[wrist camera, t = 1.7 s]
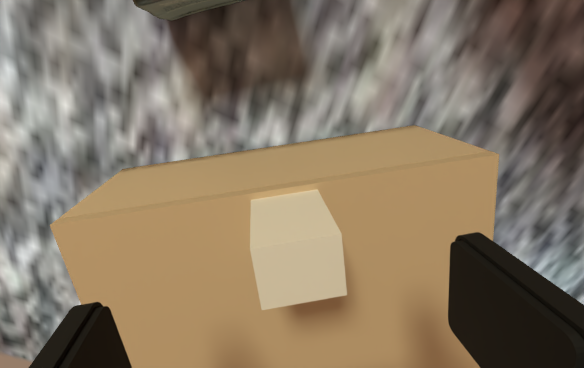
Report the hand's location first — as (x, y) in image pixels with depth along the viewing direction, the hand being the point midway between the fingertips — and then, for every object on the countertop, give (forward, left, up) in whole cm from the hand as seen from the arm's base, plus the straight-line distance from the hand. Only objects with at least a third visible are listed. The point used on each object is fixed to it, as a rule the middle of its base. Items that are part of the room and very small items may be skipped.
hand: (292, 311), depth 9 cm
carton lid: (0, +7, -7) cm, 10 cm away
